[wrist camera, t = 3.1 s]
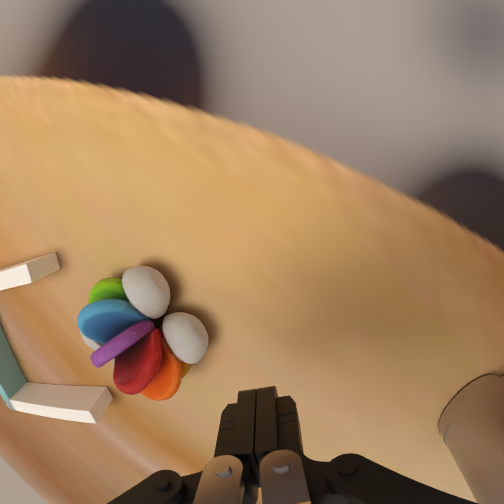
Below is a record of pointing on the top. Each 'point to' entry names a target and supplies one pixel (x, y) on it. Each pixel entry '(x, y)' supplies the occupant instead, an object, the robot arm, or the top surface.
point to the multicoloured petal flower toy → (141, 333)
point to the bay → (36, 394)
